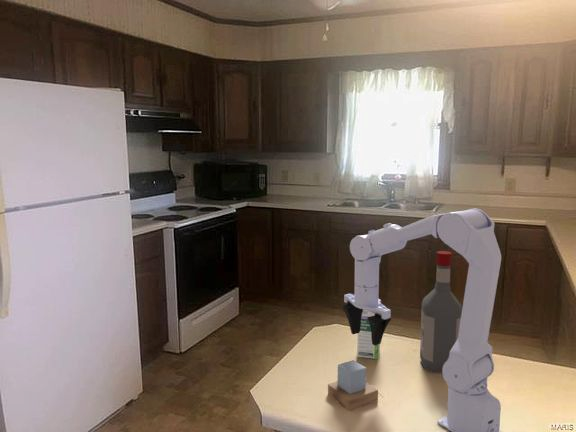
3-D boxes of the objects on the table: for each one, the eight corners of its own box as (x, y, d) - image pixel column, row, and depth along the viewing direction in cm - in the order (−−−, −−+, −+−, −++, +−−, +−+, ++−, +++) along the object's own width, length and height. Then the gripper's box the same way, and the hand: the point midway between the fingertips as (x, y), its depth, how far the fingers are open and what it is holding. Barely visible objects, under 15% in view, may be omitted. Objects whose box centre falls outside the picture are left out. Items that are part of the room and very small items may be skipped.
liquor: (424, 372, 116) (428, 256, 112) (418, 356, 125) (422, 248, 121) (462, 374, 115) (467, 257, 111) (453, 358, 124) (458, 248, 120)
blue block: (365, 388, 104) (366, 367, 103) (349, 394, 101) (350, 372, 101) (352, 380, 108) (353, 360, 107) (337, 385, 105) (337, 364, 105)
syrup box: (356, 357, 125) (357, 305, 123) (359, 348, 131) (360, 298, 129) (378, 359, 123) (379, 307, 121) (380, 350, 129) (381, 300, 127)
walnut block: (377, 402, 104) (378, 389, 103) (349, 413, 100) (349, 400, 99) (355, 387, 111) (355, 375, 110) (327, 396, 106) (328, 384, 106)
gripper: (401, 289, 106) (399, 345, 108) (359, 274, 118) (358, 325, 120) (378, 294, 102) (376, 352, 104) (337, 279, 114) (337, 331, 116)
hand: (365, 338), depth 112 cm, fingers open, 7 cm apart
